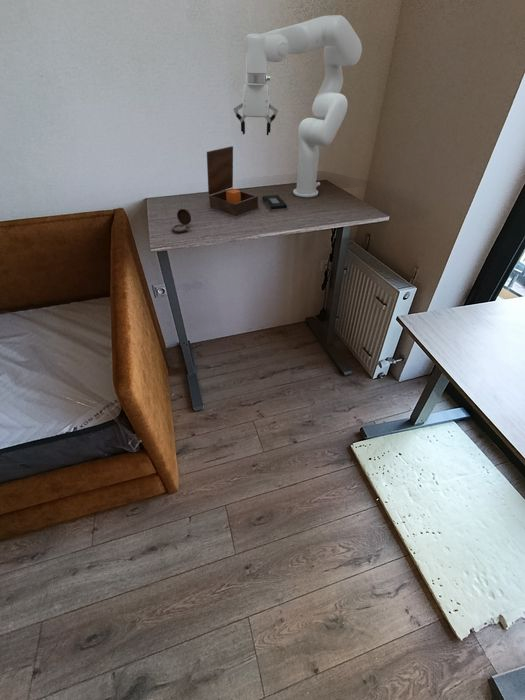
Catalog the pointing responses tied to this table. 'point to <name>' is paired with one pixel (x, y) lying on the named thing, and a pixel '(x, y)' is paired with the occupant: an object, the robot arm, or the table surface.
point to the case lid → (220, 169)
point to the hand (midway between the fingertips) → (255, 134)
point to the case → (221, 203)
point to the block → (233, 196)
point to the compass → (182, 221)
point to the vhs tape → (274, 202)
